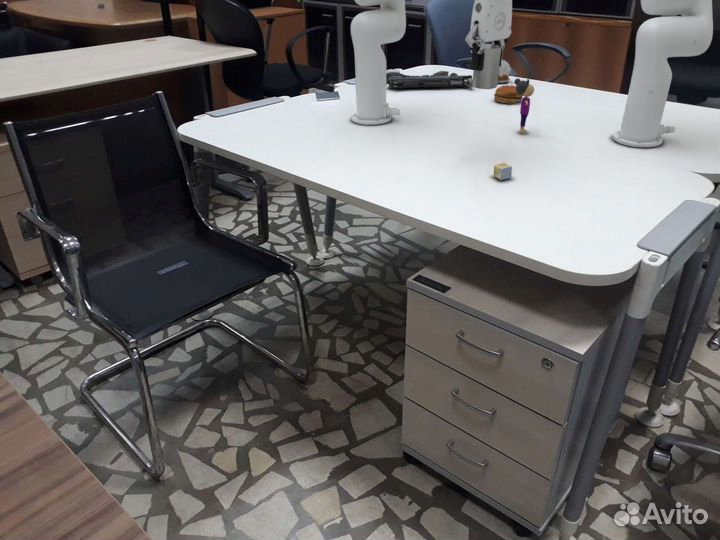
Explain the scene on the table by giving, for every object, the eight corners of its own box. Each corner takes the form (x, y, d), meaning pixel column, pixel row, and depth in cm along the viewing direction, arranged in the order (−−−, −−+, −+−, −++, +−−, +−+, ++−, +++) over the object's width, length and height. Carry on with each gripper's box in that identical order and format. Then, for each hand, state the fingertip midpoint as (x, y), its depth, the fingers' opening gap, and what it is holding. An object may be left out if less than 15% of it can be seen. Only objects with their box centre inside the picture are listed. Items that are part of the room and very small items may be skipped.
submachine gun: (465, 67, 229) (475, 77, 207) (464, 78, 231) (474, 89, 209) (384, 68, 229) (385, 79, 207) (384, 79, 231) (385, 91, 209)
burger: (499, 104, 192) (501, 90, 189) (490, 98, 200) (491, 84, 197) (527, 103, 193) (529, 89, 190) (517, 96, 201) (518, 82, 198)
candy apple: (512, 80, 221) (516, 39, 213) (505, 84, 216) (509, 42, 208) (493, 78, 225) (496, 38, 217) (485, 82, 219) (489, 41, 211)
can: (500, 84, 145) (504, 45, 140) (491, 90, 140) (496, 49, 135) (477, 82, 147) (481, 43, 142) (468, 87, 143) (471, 47, 138)
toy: (529, 138, 161) (536, 84, 154) (509, 137, 162) (515, 83, 155) (527, 127, 170) (534, 75, 162) (508, 126, 171) (514, 75, 163)
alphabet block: (500, 180, 135) (501, 168, 134) (492, 176, 138) (494, 164, 136) (511, 178, 136) (512, 166, 135) (503, 174, 139) (504, 162, 137)
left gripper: (481, -9, 125) (473, 76, 135) (530, -14, 134) (520, 65, 144) (456, -11, 130) (450, 70, 140) (505, -16, 139) (497, 60, 149)
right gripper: (724, -58, 112) (699, 34, 121) (797, -57, 98) (763, 49, 106) (757, -60, 113) (730, 33, 122) (835, -58, 99) (798, 46, 108)
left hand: (486, 67), depth 141 cm, fingers closed on can, 6 cm apart
